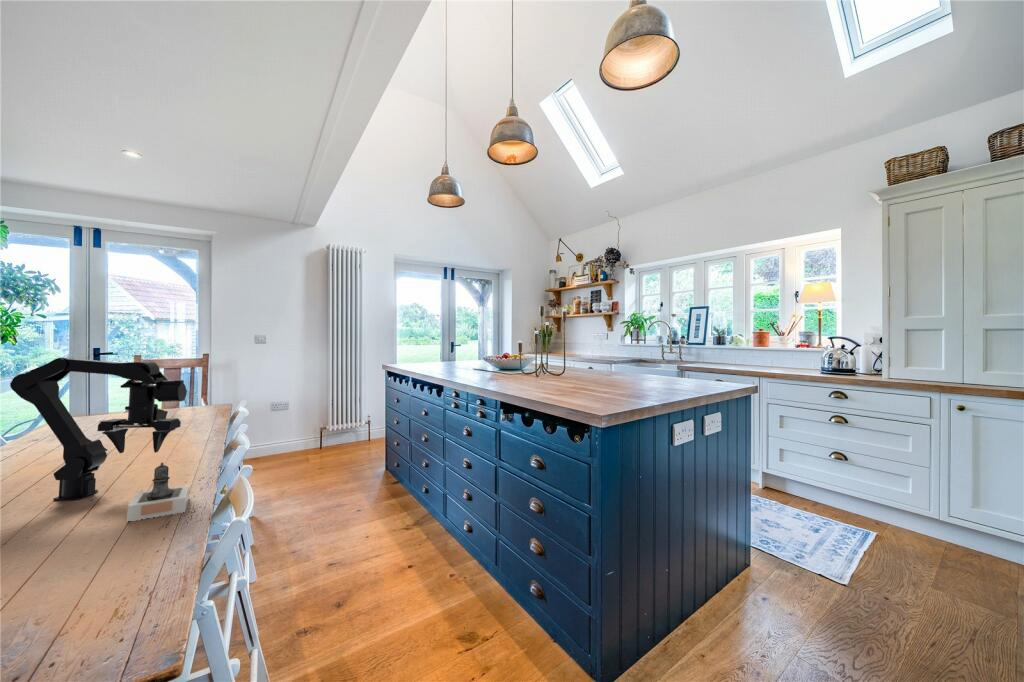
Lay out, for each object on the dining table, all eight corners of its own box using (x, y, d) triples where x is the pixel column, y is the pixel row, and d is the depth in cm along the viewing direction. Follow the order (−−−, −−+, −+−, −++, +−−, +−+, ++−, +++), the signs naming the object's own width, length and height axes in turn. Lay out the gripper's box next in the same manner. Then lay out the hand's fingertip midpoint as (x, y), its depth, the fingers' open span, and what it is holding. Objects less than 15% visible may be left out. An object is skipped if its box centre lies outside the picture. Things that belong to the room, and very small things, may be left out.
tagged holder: (126, 522, 96) (127, 507, 96) (136, 507, 106) (137, 492, 106) (184, 512, 103) (185, 498, 103) (188, 498, 112) (189, 485, 112)
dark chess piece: (164, 509, 102) (166, 465, 102) (138, 510, 101) (141, 465, 101) (178, 501, 108) (181, 459, 108) (155, 502, 107) (157, 459, 107)
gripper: (192, 398, 127) (190, 445, 126) (127, 398, 123) (124, 446, 123) (169, 403, 116) (166, 454, 115) (97, 403, 112) (94, 456, 112)
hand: (139, 452), depth 117 cm, fingers open, 9 cm apart
